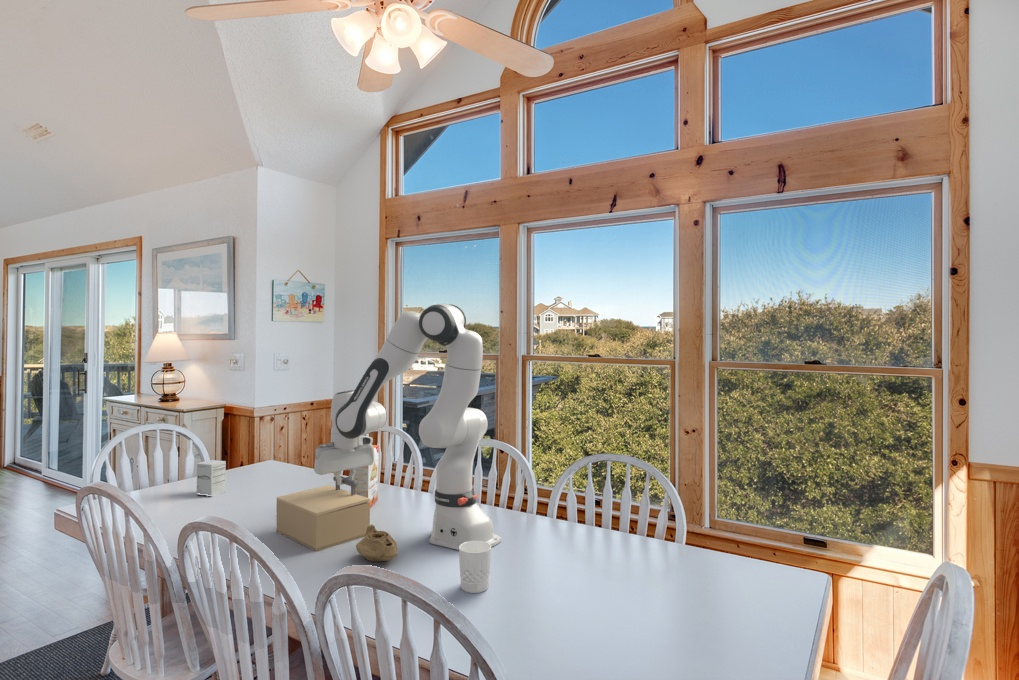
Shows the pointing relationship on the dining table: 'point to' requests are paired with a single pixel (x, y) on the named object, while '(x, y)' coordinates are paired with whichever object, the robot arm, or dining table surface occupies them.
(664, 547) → the dining table surface
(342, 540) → the carton
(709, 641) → the dining table surface
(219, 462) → the supplement box
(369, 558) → the oil lamp
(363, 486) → the cracker box
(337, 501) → the carton lid
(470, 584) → the white cup
